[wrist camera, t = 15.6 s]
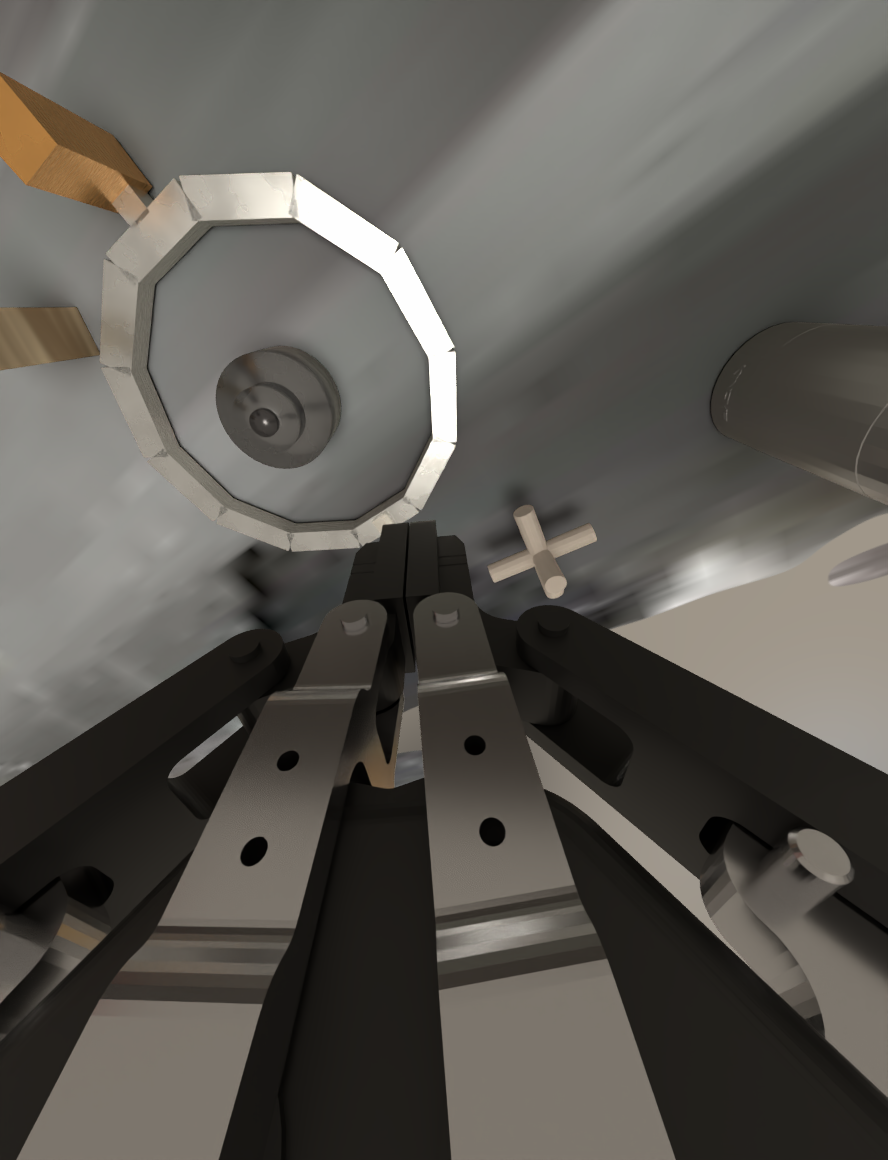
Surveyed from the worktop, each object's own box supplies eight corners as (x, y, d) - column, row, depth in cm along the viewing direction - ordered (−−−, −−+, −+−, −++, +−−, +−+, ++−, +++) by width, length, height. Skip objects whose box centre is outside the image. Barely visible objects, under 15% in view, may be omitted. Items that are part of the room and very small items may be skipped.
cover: (329, 342, 30) (307, 352, 24) (349, 446, 35) (334, 476, 29) (226, 349, 30) (177, 360, 24) (259, 452, 35) (225, 484, 29)
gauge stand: (80, 294, 28) (-81, 289, 19) (114, 364, 30) (-13, 388, 21) (18, 299, 28) (-172, 297, 19) (58, 369, 30) (-93, 395, 21)
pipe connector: (500, 581, 44) (519, 643, 36) (465, 509, 39) (477, 563, 31) (586, 546, 42) (626, 604, 34) (561, 465, 37) (601, 510, 29)
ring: (252, -37, 20) (174, -199, 14) (507, 449, 36) (527, 481, 29) (-15, 291, 27) (-151, 287, 21) (294, 580, 42) (272, 630, 36)
